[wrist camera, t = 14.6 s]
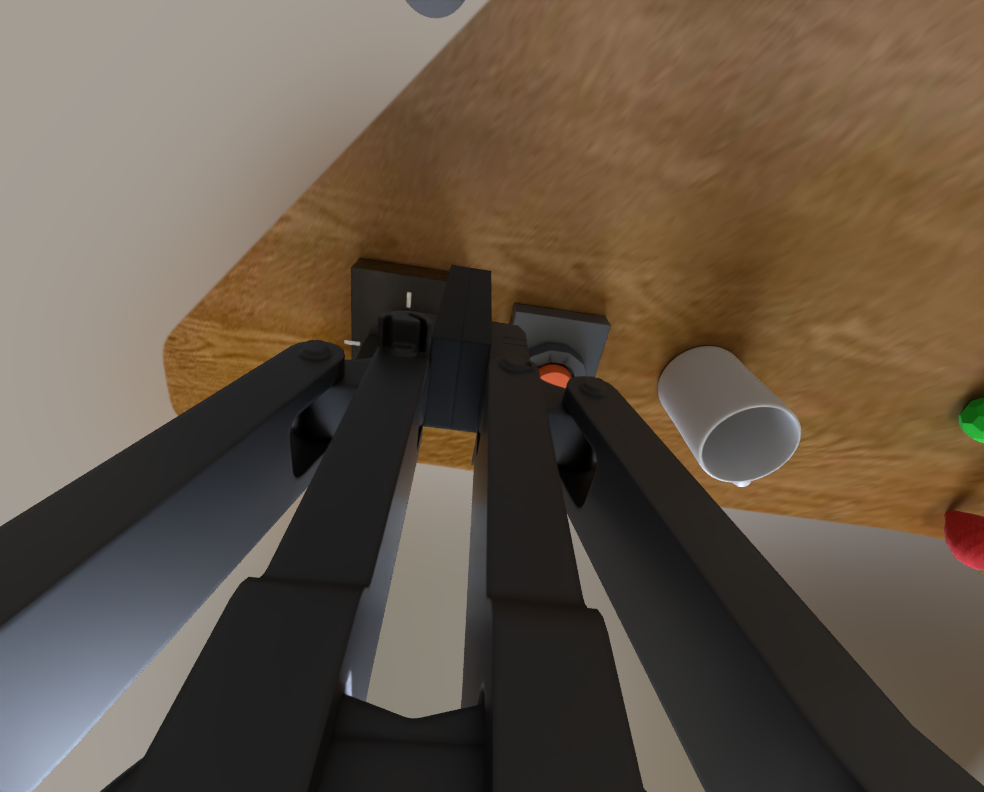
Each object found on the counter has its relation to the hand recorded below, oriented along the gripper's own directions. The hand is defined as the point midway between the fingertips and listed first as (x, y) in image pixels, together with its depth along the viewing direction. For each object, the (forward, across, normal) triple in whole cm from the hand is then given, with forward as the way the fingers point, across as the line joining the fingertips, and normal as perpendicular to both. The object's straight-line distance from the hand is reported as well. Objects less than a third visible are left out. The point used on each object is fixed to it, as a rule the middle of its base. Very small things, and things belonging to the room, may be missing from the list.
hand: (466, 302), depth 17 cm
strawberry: (+25, +64, -27) cm, 74 cm away
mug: (+25, +26, -15) cm, 39 cm away
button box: (+24, +9, -14) cm, 29 cm away
